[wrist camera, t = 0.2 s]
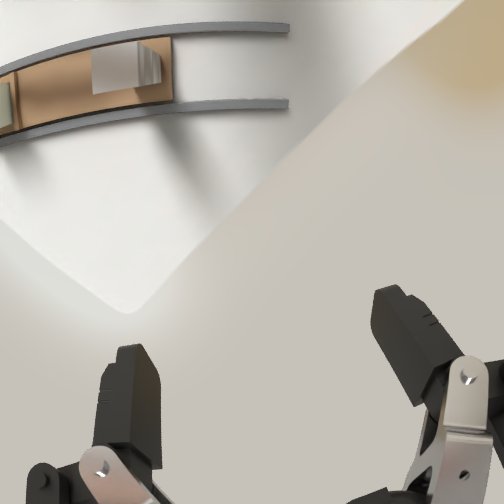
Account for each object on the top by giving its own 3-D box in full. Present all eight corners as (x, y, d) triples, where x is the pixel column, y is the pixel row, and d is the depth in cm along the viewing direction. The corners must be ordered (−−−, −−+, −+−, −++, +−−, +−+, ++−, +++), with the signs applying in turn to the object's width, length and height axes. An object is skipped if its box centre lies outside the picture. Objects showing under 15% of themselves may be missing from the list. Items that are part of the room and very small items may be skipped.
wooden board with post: (-19, 87, 23) (-103, 112, 10) (171, 38, 27) (153, 9, 14) (-13, 138, 27) (-91, 183, 14) (172, 98, 31) (156, 115, 18)
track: (-27, 80, 22) (-32, 81, 21) (287, 25, 28) (289, 23, 27) (-19, 152, 28) (-23, 154, 27) (285, 107, 33) (288, 108, 32)
